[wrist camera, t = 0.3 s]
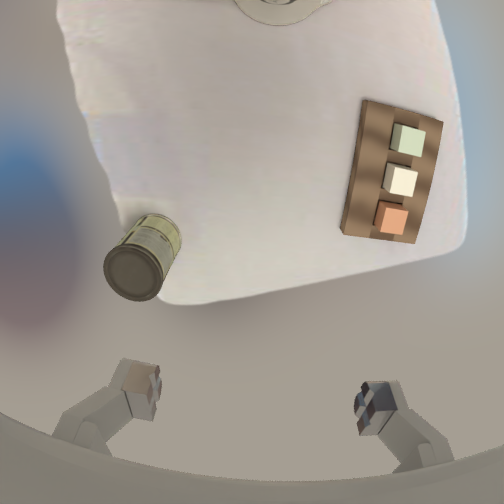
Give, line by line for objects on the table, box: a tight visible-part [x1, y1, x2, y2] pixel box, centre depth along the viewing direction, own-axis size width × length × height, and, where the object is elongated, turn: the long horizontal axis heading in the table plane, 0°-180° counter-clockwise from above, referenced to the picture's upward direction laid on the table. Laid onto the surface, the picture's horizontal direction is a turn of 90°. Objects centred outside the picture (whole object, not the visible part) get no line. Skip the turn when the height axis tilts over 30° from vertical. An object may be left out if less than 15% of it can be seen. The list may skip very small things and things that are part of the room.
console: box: [340, 100, 443, 244], centre depth 52 cm, size 24×15×3 cm, turn 174°
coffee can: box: [103, 214, 181, 302], centre depth 54 cm, size 10×10×14 cm
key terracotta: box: [374, 201, 409, 235], centre depth 52 cm, size 4×4×4 cm
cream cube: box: [383, 163, 418, 197], centre depth 49 cm, size 4×4×4 cm
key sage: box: [390, 123, 426, 157], centre depth 46 cm, size 4×4×4 cm
